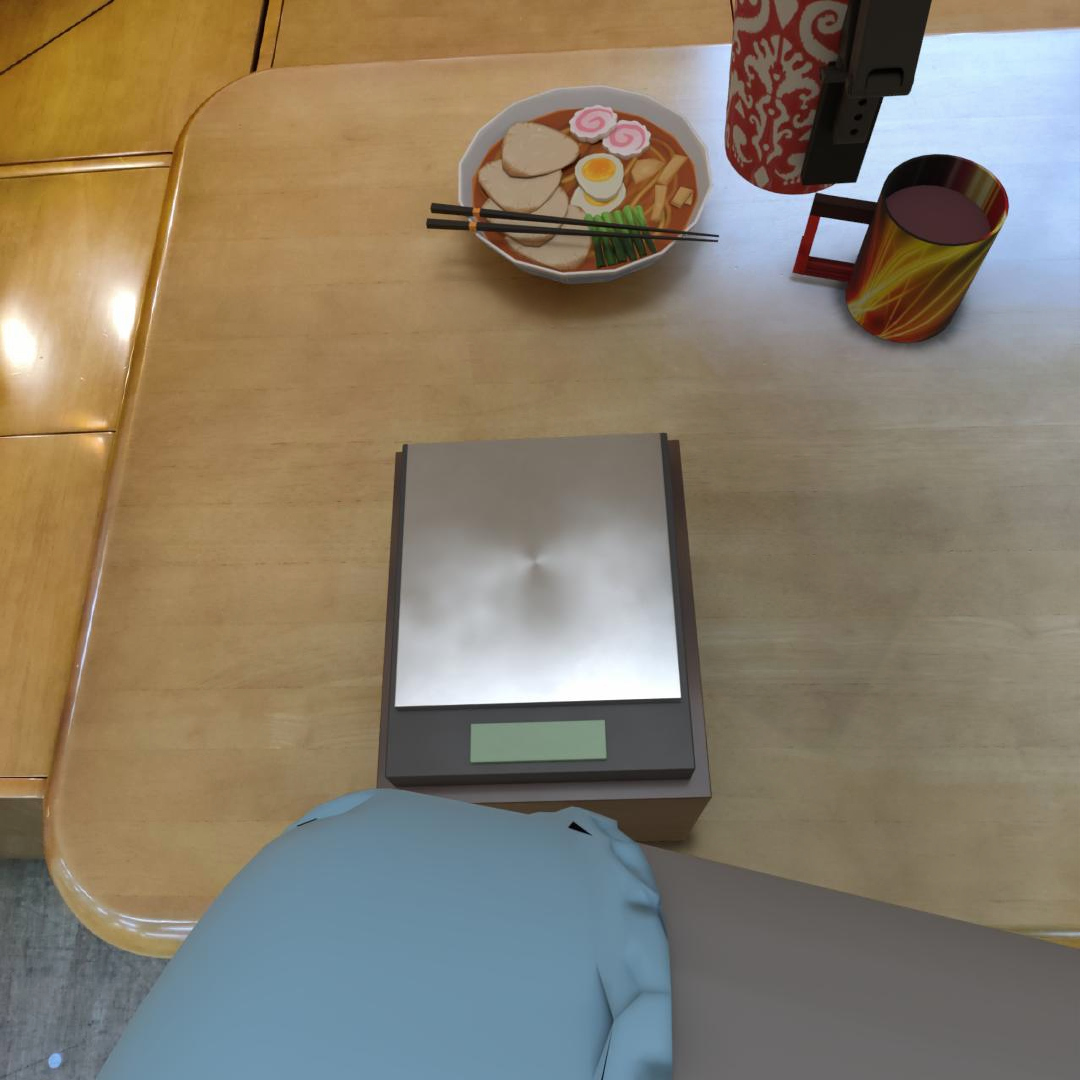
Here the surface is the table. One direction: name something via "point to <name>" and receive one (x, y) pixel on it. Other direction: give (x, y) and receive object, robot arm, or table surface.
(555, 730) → the kitchen scale
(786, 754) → the table surface
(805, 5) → the mug
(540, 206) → the ramen bowl
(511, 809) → the riser
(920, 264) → the mug
